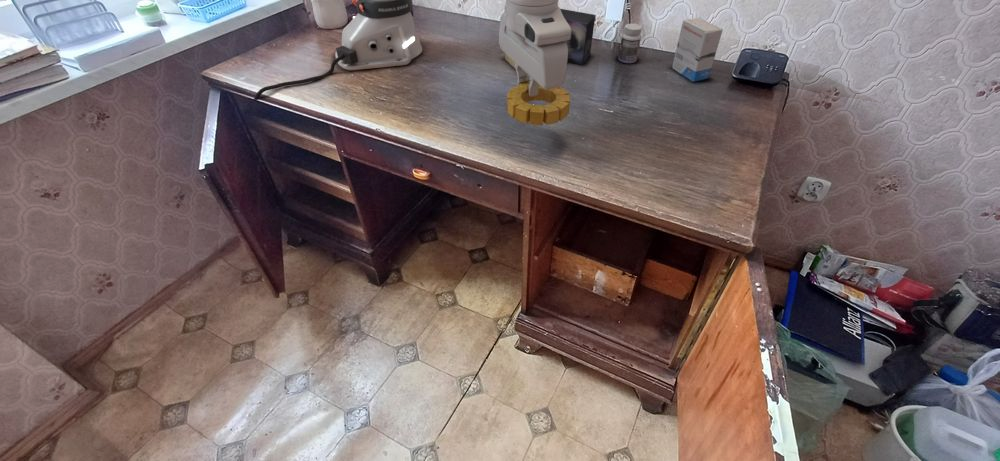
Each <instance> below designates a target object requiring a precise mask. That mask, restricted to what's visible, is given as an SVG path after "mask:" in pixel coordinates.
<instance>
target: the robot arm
mask: <svg viewBox="0 0 1000 461" xmlns="http://www.w3.org/2000/svg"><path fill="white" fill-rule="evenodd" d="M351 2H352V4H353V5H354V6H356V9H357V14H356V15H355V16H352V20H350V22H349V23H347V24H346V25H345V26H344V28H343V30H342V32H341V46H338V47H336V48H335V53H334V56H335V59H334V60H333V61H332V62H331V63H330V69H329V70H328V71H327V72H325V73H324V74H321V75H317V76H311V77H307V78H303V79H297V80H290V81H284V82H279V83H276V84H272V85H267V86H264V87H261V88H259V90H258V91H257V92H256V94H255V95H254V98H253V101H258V100H259V98H260V97H261V96H262V94H264V93H265V92H267V91H270V90H271V91H272V90H276V89H279V88H282V87H283V88H284V87H287V86H295V85H303V84H307V83H310V82H314V81H319V80H322V79H325V78H327V77H329V76H330V75H332V74H333V72H334V71H335V67H336V65H337V64H338V65H339V67H341V68H342V69H344V70H347V71H360V70H369V69H379V68H387V67H399V66H406V65H408V64H410V63H411V61H412V60H413V59H415V58H417V57H418V56H420V54H421V53H422V52H423V47H422V44H421V42H420V38H419V36H418V33H417V30H416V25H415V21H414V4H413V3H414V2H413V0H351ZM560 9H561V7H560V6H559V0H505V5H504V12H503V13H502V14H501V16H500V20H499V31H498V32H499V33H498V44H499V48H500V50H501V51H502V52H503V53H504V54H507V55H508V56H509V57H510V58H511V59H512V60H513V61H514V62H515V68H516V69H515V68H514V69H515V72H516V76H517V86H519V84H523V83H528V82H530V84H529V85H527V93H528V94H529V95H530V96H531V97H533V96H537V95H538V90H539V86H541V87H542V88H543V89H545V90H549V89H554V88H558V87H560V88H561V87H562V86H563V85H564V83H565V81H566V76H567V75H566V74H567V67H568V61H567V59H568V47H567V44H566V42H565V41H567V40H570V38H571V28H570V26H569V24H568V23H567V21H566V20H565V18H564V16H563V15H562V12H561V10H560Z"/></svg>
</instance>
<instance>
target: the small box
mask: <svg viewBox="0 0 1000 461" xmlns="http://www.w3.org/2000/svg"><path fill="white" fill-rule="evenodd" d="M560 10H561V12H562V15H563V16H564V18H565V20H566V21H567V23H568V24H569V26H570V28H571V38H570V40H567V41H565V42H566V44H567V47H568V59H567V63H568V62H570V63H572V64H573V63H574V64H577V65H584V64H585V63H586V62H587V61H588V59H589V58H590V57H591V55H592V54H591V52H592V44H593V37H594V28H595V23H596V18H597V15H596V14H592V13H588V12H582V11H575V10H570V9H565V8H560Z"/></svg>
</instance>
